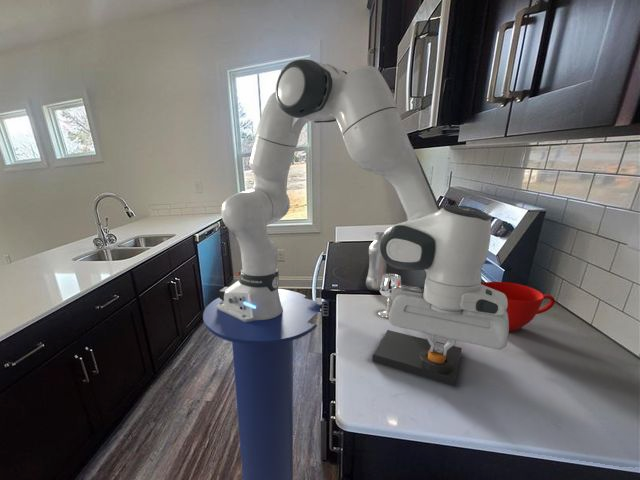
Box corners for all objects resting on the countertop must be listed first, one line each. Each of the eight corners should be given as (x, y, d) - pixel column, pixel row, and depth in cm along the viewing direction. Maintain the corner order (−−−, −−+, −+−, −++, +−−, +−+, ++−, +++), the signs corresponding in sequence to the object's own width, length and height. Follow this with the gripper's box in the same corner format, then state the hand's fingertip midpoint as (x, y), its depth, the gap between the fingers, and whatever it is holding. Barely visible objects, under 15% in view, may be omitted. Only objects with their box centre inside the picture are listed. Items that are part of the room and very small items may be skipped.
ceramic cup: (564, 339, 76) (578, 302, 73) (485, 337, 79) (495, 300, 76) (528, 315, 88) (539, 281, 84) (461, 313, 91) (468, 281, 87)
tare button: (426, 361, 67) (427, 354, 66) (428, 353, 69) (430, 346, 68) (443, 366, 65) (445, 358, 64) (445, 358, 67) (447, 351, 67)
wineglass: (395, 320, 89) (400, 281, 85) (374, 316, 93) (378, 277, 88) (399, 312, 94) (405, 274, 89) (379, 308, 97) (383, 271, 93)
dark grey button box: (371, 361, 73) (373, 348, 72) (386, 336, 82) (388, 324, 81) (454, 386, 64) (457, 372, 62) (460, 354, 73) (463, 341, 72)
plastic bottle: (383, 295, 106) (389, 236, 99) (362, 291, 110) (367, 234, 103) (388, 288, 111) (394, 232, 103) (368, 285, 115) (373, 230, 107)
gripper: (388, 287, 65) (381, 345, 70) (518, 309, 53) (499, 377, 58) (395, 278, 70) (389, 333, 75) (516, 296, 58) (499, 360, 63)
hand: (438, 352), depth 66 cm, fingers closed, pressing on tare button
